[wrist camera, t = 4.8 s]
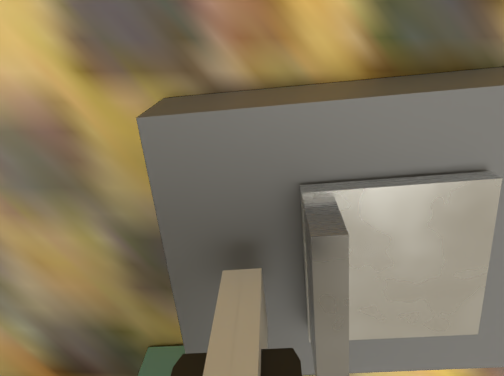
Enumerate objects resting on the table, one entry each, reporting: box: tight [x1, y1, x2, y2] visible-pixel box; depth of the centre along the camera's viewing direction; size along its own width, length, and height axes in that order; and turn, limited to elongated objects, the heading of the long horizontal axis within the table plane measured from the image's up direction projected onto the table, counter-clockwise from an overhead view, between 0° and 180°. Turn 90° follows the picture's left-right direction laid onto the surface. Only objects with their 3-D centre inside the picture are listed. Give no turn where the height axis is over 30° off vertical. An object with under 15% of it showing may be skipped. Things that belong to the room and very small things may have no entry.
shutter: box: [300, 171, 502, 376], centre depth 15 cm, size 8×8×4 cm
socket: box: [136, 67, 504, 375], centre depth 20 cm, size 20×14×4 cm
